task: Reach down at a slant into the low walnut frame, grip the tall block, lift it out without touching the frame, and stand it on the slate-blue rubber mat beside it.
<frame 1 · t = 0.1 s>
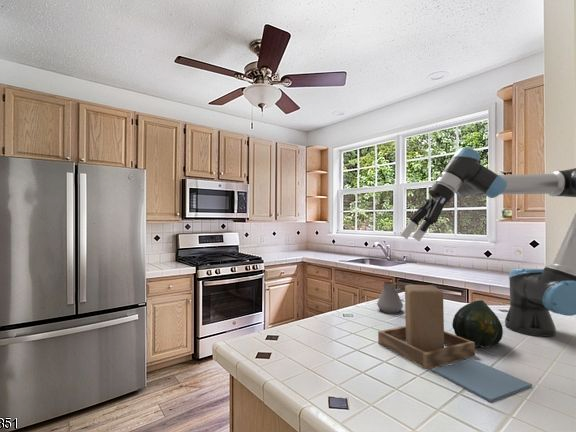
hand: (409, 238, 108), 36 cm above the counter, tool tilted 35°, fingers open, 13 cm apart
block: (424, 349, 100), resting in walnut frame
squash: (476, 343, 105), on the counter
coffee pot: (397, 313, 139), on the counter
rubber mat: (479, 378, 81), on the counter
walnut frame: (424, 348, 100), on the counter
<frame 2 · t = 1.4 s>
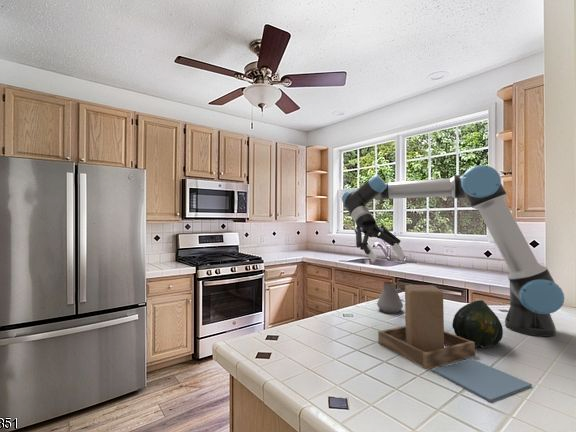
hand: (389, 259, 115), 28 cm above the counter, tool tilted 45°, fingers open, 13 cm apart
nothing on the counter moved.
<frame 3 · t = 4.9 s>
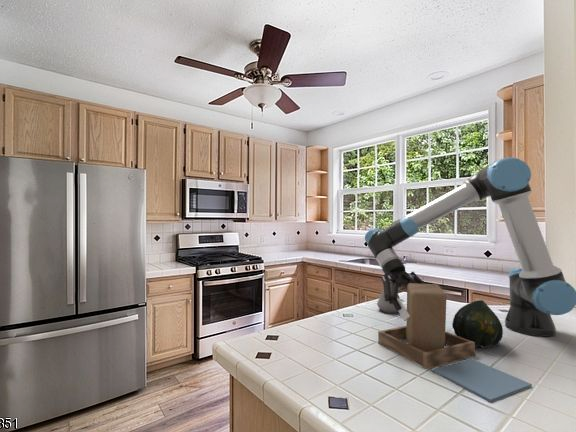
hand: (423, 316, 100), 11 cm above the counter, tool tilted 45°, fingers closed on block, 13 cm apart
block: (424, 347, 100), resting in walnut frame, touching gripper
everything else where it was.
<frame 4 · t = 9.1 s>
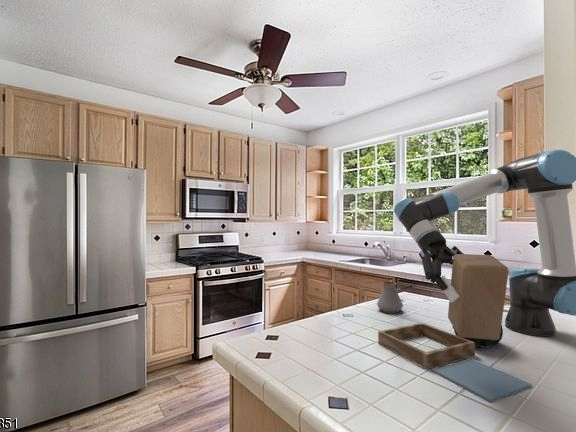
hand: (474, 297, 82), 21 cm above the counter, tool tilted 45°, fingers closed on block, 13 cm apart
block: (471, 329, 84), point 12 cm above the counter, touching gripper
everything else where it was.
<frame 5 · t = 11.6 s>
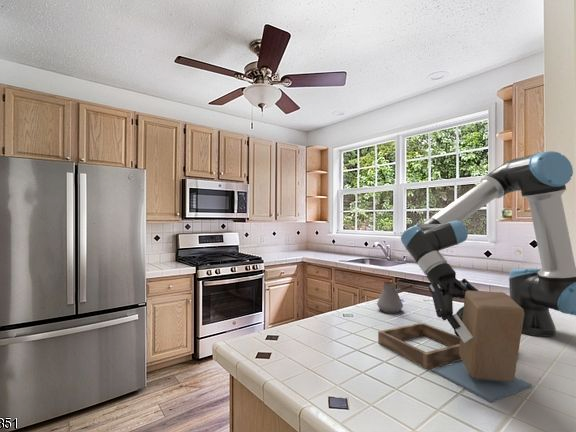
hand: (487, 336, 79), 12 cm above the counter, tool tilted 45°, fingers closed on block, 13 cm apart
block: (484, 369, 81), point 3 cm above the counter, touching gripper
everything else where it was.
when the fingers open (11 cm above the counter, at t = 13.5 s): block drops 1 cm, resting on rubber mat.
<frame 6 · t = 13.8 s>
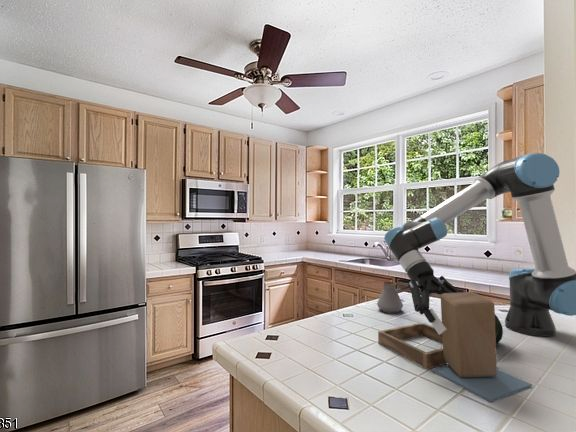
hand: (459, 328, 86), 12 cm above the counter, tool tilted 45°, fingers open, 13 cm apart
block: (468, 369, 85), point 1 cm above the counter, touching gripper, rubber mat
everything else where it was.
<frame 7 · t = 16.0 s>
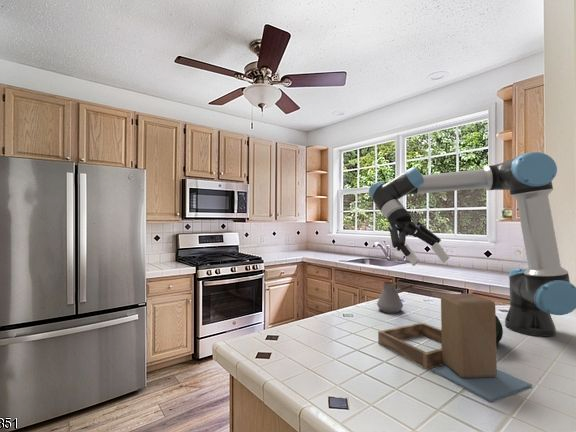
hand: (431, 261, 98), 29 cm above the counter, tool tilted 45°, fingers open, 13 cm apart
block: (468, 370, 85), resting on rubber mat
everything else where it was.
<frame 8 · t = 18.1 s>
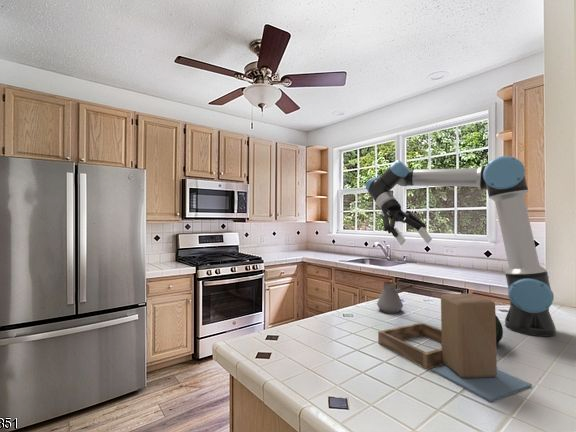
hand: (416, 241, 118), 34 cm above the counter, tool tilted 45°, fingers open, 13 cm apart
nothing on the counter moved.
at the end: block inside the target area on the rubber mat (3.7 cm from its centre), point 0.4 cm above the rubber mat's base; block tilted 0°; block touching rubber mat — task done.
